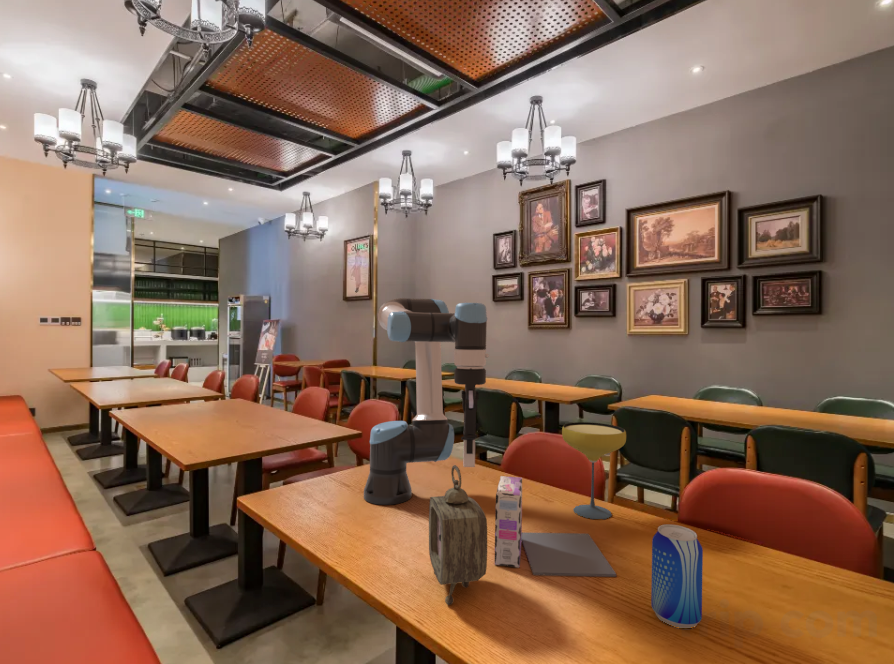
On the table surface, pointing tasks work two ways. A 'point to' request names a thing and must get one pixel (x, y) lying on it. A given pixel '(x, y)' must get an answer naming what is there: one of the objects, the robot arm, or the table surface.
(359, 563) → the table surface
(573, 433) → the cocktail glass
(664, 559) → the beer can
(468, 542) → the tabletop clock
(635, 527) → the table surface
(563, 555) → the mat
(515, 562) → the candy box
